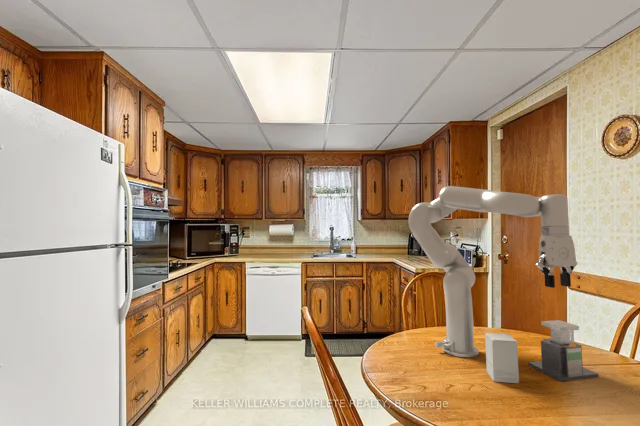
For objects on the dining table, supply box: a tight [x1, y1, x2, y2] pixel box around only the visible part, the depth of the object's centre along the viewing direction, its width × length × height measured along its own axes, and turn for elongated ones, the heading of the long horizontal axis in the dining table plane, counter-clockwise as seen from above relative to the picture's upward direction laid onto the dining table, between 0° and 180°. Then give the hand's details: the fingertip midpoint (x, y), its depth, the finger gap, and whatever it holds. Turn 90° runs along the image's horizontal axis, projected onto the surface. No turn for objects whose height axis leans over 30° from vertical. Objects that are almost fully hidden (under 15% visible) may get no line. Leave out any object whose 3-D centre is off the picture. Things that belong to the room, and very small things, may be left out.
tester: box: [527, 337, 600, 382], centre depth 106 cm, size 14×12×9 cm
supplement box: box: [484, 332, 520, 384], centre depth 103 cm, size 7×7×13 cm
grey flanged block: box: [541, 319, 580, 346], centre depth 105 cm, size 7×9×9 cm
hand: (557, 286), depth 107 cm, fingers open, 5 cm apart
